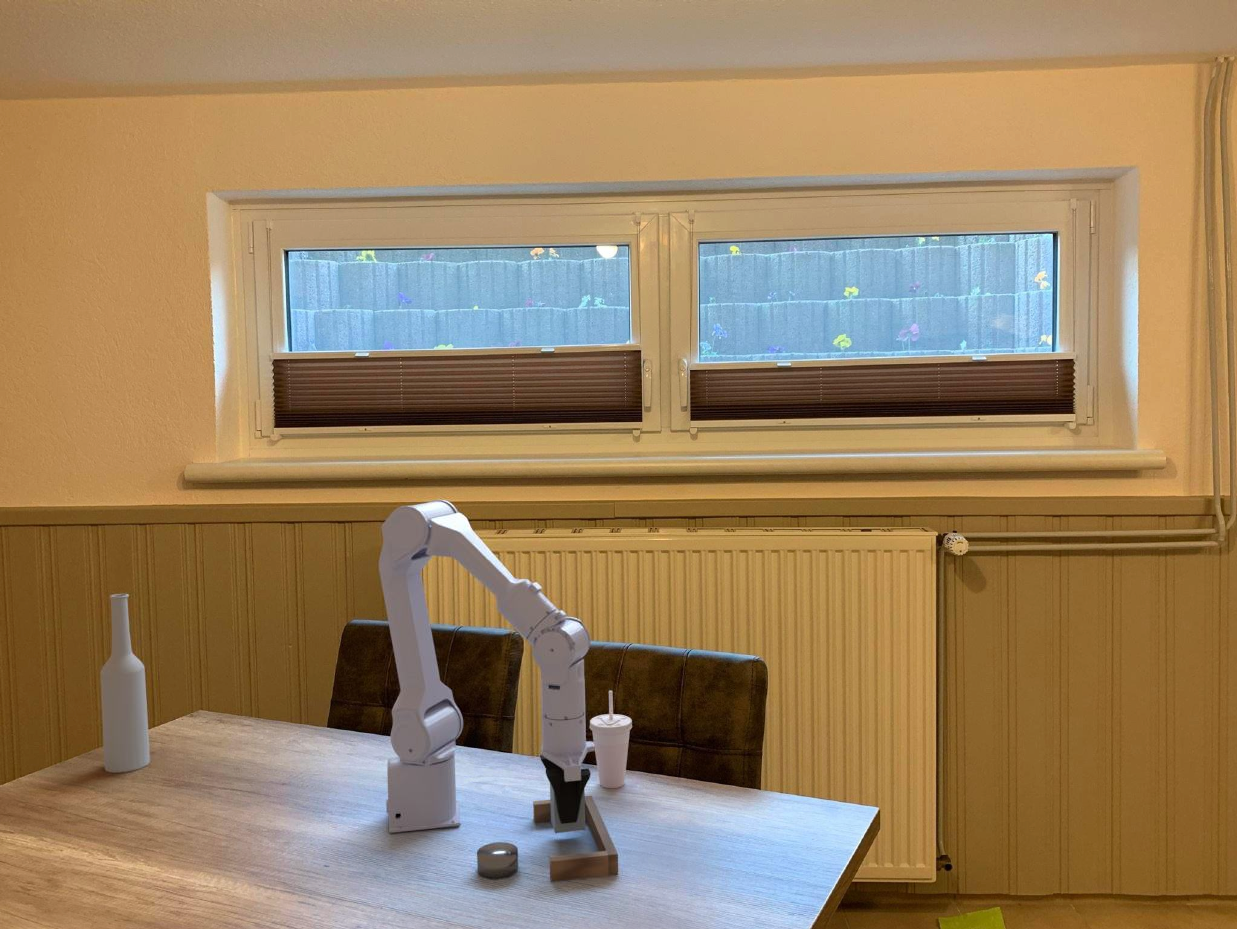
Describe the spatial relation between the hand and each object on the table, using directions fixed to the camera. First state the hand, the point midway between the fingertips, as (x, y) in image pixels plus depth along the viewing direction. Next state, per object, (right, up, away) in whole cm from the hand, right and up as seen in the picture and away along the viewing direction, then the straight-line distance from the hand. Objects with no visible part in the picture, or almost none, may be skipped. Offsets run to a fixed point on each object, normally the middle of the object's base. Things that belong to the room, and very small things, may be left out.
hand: (565, 814), depth 129 cm
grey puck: (-8, -4, -8) cm, 12 cm away
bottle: (-73, -3, +30) cm, 79 cm away
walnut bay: (+1, -3, -2) cm, 4 cm away
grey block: (0, -1, 0) cm, 1 cm away
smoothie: (+6, -2, +19) cm, 20 cm away
